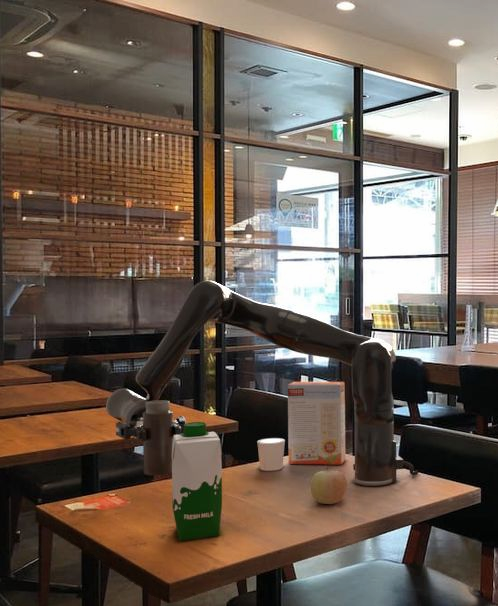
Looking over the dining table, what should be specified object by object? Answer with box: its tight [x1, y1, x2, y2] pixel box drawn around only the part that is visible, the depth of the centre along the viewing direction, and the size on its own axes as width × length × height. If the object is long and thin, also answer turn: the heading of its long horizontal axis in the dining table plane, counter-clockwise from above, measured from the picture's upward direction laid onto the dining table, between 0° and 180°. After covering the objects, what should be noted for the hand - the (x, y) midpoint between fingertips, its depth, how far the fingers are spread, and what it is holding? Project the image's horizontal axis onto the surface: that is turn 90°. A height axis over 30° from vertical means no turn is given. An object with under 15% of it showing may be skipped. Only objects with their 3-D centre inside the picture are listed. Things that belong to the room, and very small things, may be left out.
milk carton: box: [171, 421, 223, 542], centre depth 131 cm, size 9×9×20 cm
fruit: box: [310, 465, 348, 505], centre depth 149 cm, size 8×7×8 cm
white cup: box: [256, 437, 286, 472], centre depth 178 cm, size 7×7×7 cm
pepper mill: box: [142, 399, 174, 476], centre depth 141 cm, size 6×6×14 cm
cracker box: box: [287, 381, 346, 466], centre depth 183 cm, size 14×6×21 cm, turn 84°
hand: (161, 434), depth 139 cm, fingers closed on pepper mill, 5 cm apart
